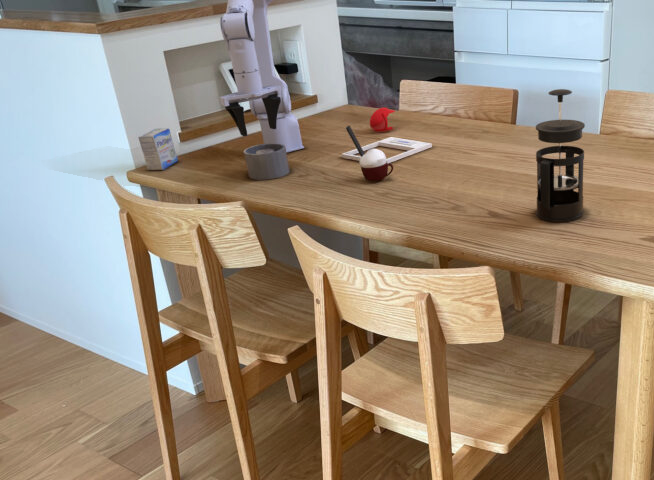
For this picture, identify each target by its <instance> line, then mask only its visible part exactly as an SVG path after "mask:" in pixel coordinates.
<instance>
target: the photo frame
mask: <svg viewBox="0 0 654 480" xmlns="http://www.w3.org/2000/svg"><path fill="white" fill-rule="evenodd" d="M379 146H380V147H385V148H391V149H398V150H402V151H404V152H402V153H399V154H396V155H394V156H390V157H388V158H386V160H387V164H392V163H393V162H396V161H398V160H401V159H404V158H406V157H409V156H411V155H414V154H418V153H420V152H423V151H425V150H427V149H431V148H432V146H433V144H432V143H431V142H425V141H419V140H412V139H406V138H400V137H395V136H390V137H386V138H384V139H381V140H378V141H375V142H372V143H369V144H367V145H363V146H361V148H362V150H363V151H364V152H365V151H368V150H371V149H375V148H377V147H379ZM356 154H359V152H358V150H357V148H355V149H352V150H349V151H346V152H343V153H341V158H343V159H346V160H347V159H348V160H353V161H358V162H359V161H360V158H361V156H360V155H356Z"/></svg>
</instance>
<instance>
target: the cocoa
mask: <svg viewBox="0 0 654 480" xmlns="http://www.w3.org/2000/svg"><path fill="white" fill-rule="evenodd" d="M345 129H346V131H347V133H348V136H349V137H350V139H351V141H352V143H353V144H354V146H355V149H357V150H358V152H359V153H358V154H359V156H361V158H360V161H358V162H359V167H360V169H361V170H360V171H361V173H362V176H363V177H364V178H365V180H367V181H369V182H375V183H376V182H379V181H382V180H385V178H387V177H388V176H390V175H391V174H392V172H393V170H394V165H393V164H392V163H388V164H387V160H386V159H387V156H386V153H385V152H383V150H380V149H378V148H371V149H368V150H366V153H365V151H363V150H362V148H361V147H362V146H361V144H360V142H359V140H358V138H357V137H356V135H355V133H354V131H353V128H352V127H351V125H347V126H346V127H345ZM389 167H390V171H389Z"/></svg>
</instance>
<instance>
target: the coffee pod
mask: <svg viewBox="0 0 654 480" xmlns="http://www.w3.org/2000/svg"><path fill="white" fill-rule="evenodd" d="M271 152H274V150H273V149H263V150H259V151H257V152H256V154H265V153H271Z"/></svg>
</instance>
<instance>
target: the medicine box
mask: <svg viewBox="0 0 654 480" xmlns="http://www.w3.org/2000/svg"><path fill="white" fill-rule="evenodd" d="M137 138H138V141H139V144H140V149H141V152H142V154H143V158H144V162H145V165H146V168H147V171H164V170H166V169H168V168H169V167H171V166H172V165H174V164H176V163H178V162H179V160H178V159H179V158H178V155H177V152H176V148H175V145H174V140H173V137H172V134H171V130H170V128H166V127H165V128H162V127H160V128H154V129H152V130H150V131H148V132H146V133H144V134H141V135H139V136H138V137H137Z"/></svg>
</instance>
